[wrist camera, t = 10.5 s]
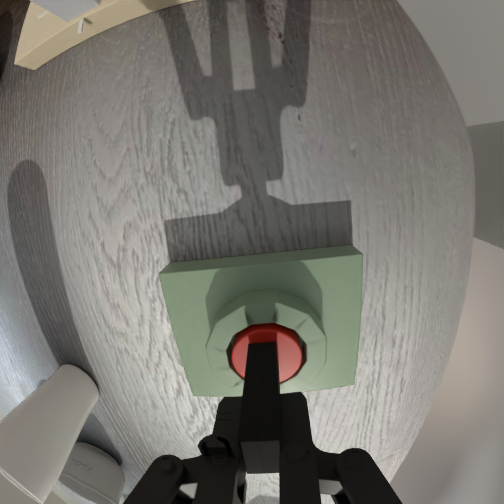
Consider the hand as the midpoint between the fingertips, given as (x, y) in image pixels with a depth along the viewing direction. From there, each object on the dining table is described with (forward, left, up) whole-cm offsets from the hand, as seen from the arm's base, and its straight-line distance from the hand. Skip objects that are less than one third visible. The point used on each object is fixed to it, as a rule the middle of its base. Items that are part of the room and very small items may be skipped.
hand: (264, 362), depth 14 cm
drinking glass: (+20, +7, -5) cm, 22 cm away
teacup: (+28, +24, -5) cm, 37 cm away
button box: (0, 0, -5) cm, 5 cm away
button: (0, 0, -2) cm, 2 cm away
